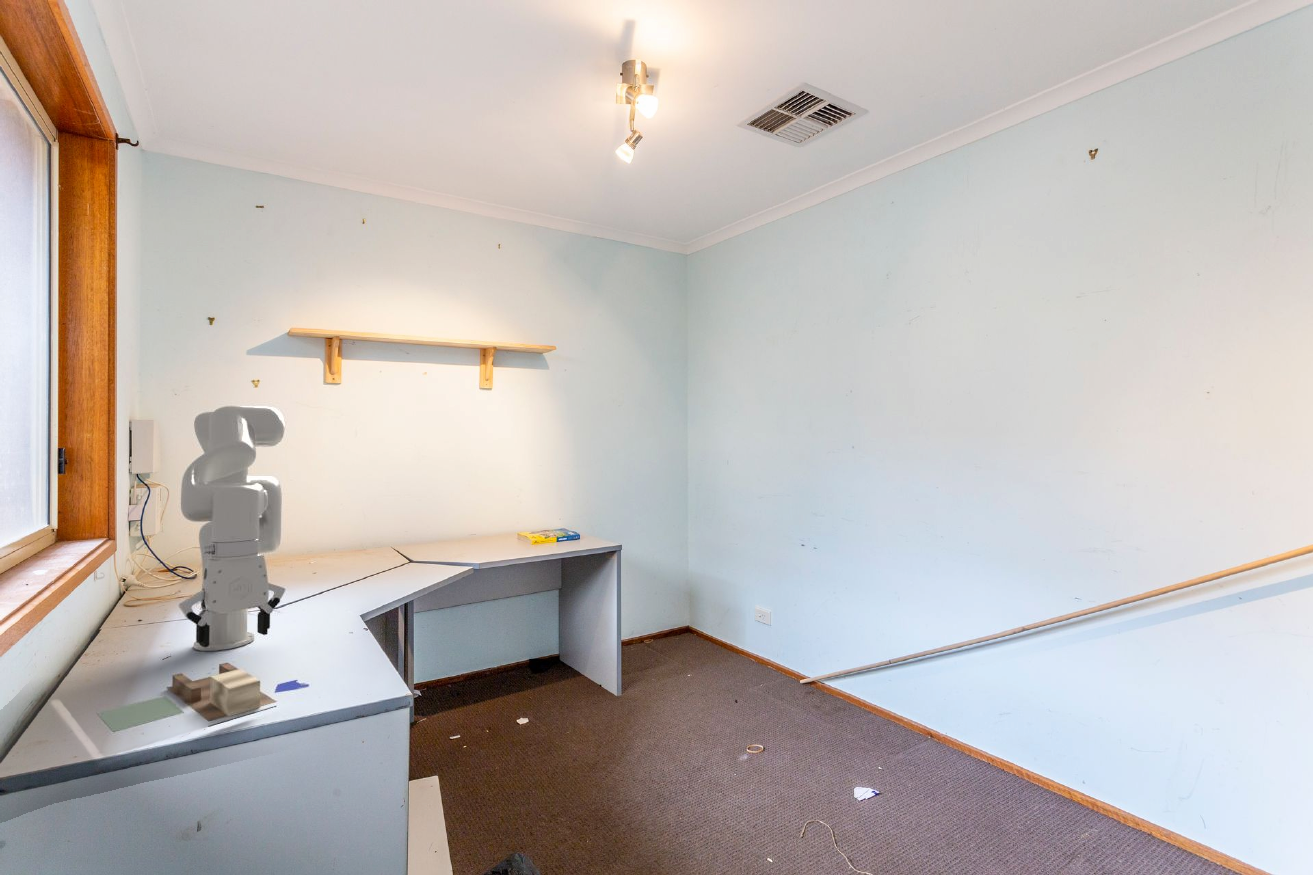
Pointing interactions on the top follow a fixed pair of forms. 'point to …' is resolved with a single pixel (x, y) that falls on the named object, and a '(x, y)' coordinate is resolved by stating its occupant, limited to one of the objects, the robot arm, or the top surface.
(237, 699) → the block
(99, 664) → the top surface
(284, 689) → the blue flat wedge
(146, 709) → the mat
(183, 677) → the holder
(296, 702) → the top surface
